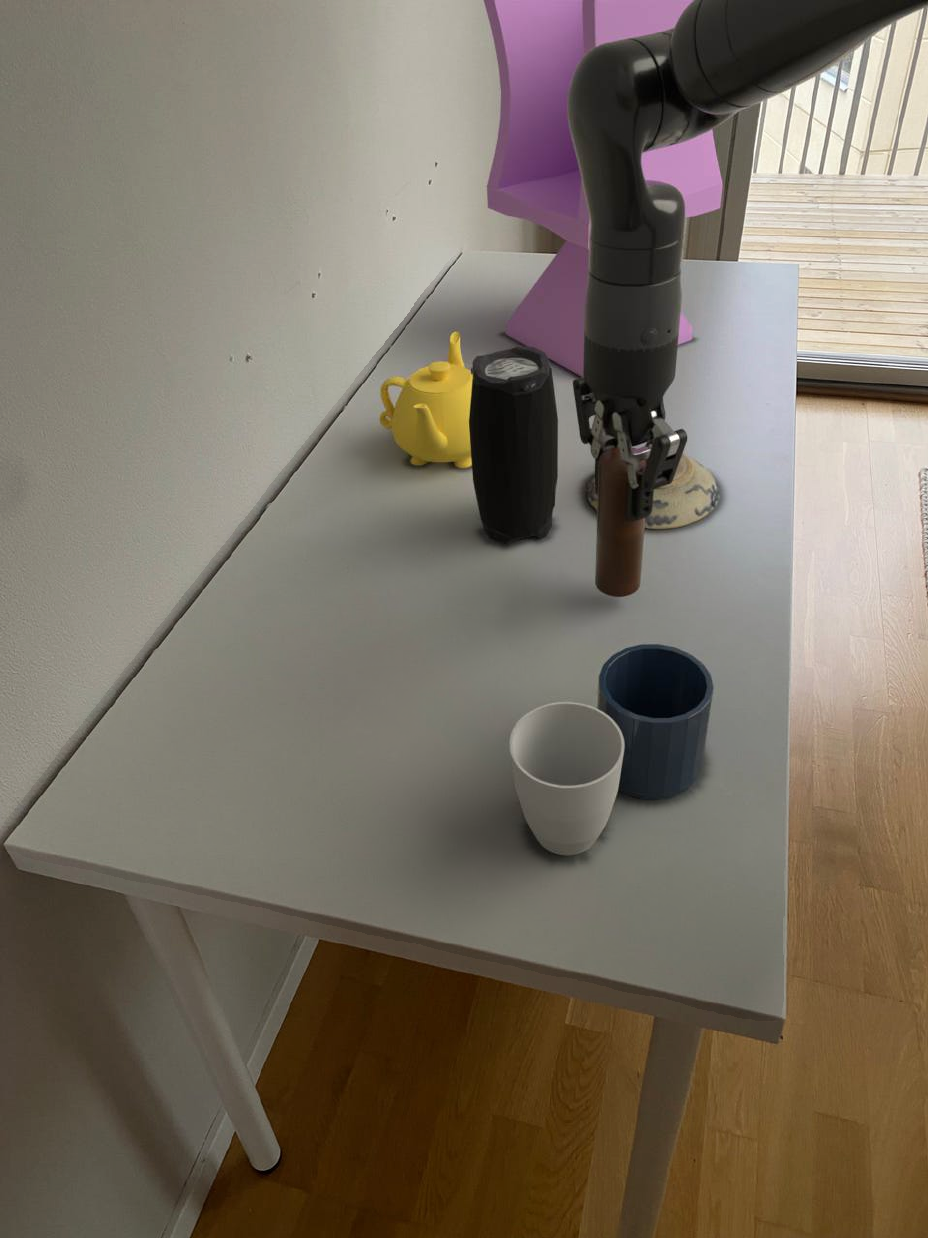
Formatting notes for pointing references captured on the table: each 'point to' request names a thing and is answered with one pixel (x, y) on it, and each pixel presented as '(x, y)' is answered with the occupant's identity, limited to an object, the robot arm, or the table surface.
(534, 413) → the portable speaker
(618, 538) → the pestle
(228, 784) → the table surface
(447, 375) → the teapot
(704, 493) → the decorative bowl
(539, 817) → the cup
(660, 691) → the crock
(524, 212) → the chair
